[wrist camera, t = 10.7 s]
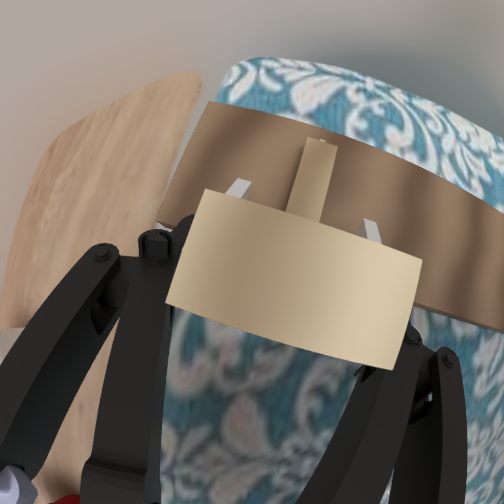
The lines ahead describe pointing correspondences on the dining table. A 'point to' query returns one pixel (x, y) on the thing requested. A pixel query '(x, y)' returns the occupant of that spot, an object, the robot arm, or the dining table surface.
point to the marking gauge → (296, 272)
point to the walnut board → (355, 203)
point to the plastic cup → (68, 500)
